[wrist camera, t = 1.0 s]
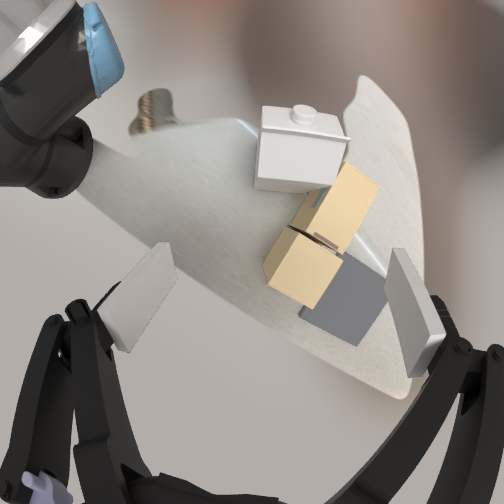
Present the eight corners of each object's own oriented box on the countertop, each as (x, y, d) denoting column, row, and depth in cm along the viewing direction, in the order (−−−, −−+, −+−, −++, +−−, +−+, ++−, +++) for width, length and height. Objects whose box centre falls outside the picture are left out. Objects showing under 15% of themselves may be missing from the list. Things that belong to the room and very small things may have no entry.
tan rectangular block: (262, 264, 40) (267, 284, 29) (285, 226, 39) (299, 232, 29) (296, 284, 41) (313, 309, 30) (319, 247, 40) (343, 260, 29)
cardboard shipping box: (289, 225, 39) (305, 230, 28) (319, 173, 38) (345, 161, 27) (318, 242, 40) (343, 255, 29) (347, 192, 39) (380, 187, 28)
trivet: (298, 314, 41) (299, 317, 40) (339, 248, 40) (342, 249, 39) (354, 343, 43) (356, 346, 41) (392, 284, 41) (396, 286, 40)
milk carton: (302, 194, 39) (349, 181, 20) (253, 189, 38) (259, 171, 20) (305, 147, 38) (350, 100, 19) (257, 142, 37) (265, 87, 19)
